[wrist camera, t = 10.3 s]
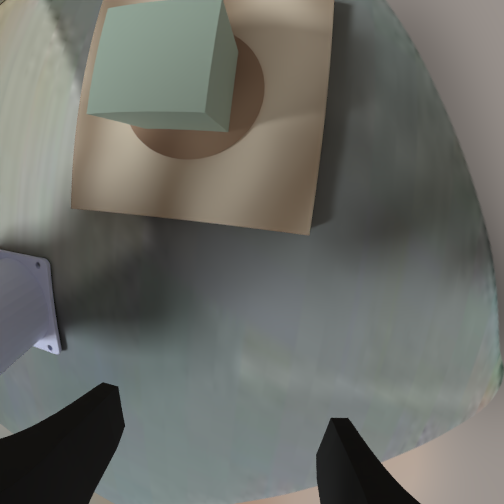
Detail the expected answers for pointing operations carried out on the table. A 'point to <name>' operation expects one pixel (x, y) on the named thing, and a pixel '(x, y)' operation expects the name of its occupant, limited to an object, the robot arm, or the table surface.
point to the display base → (223, 143)
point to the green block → (166, 66)
